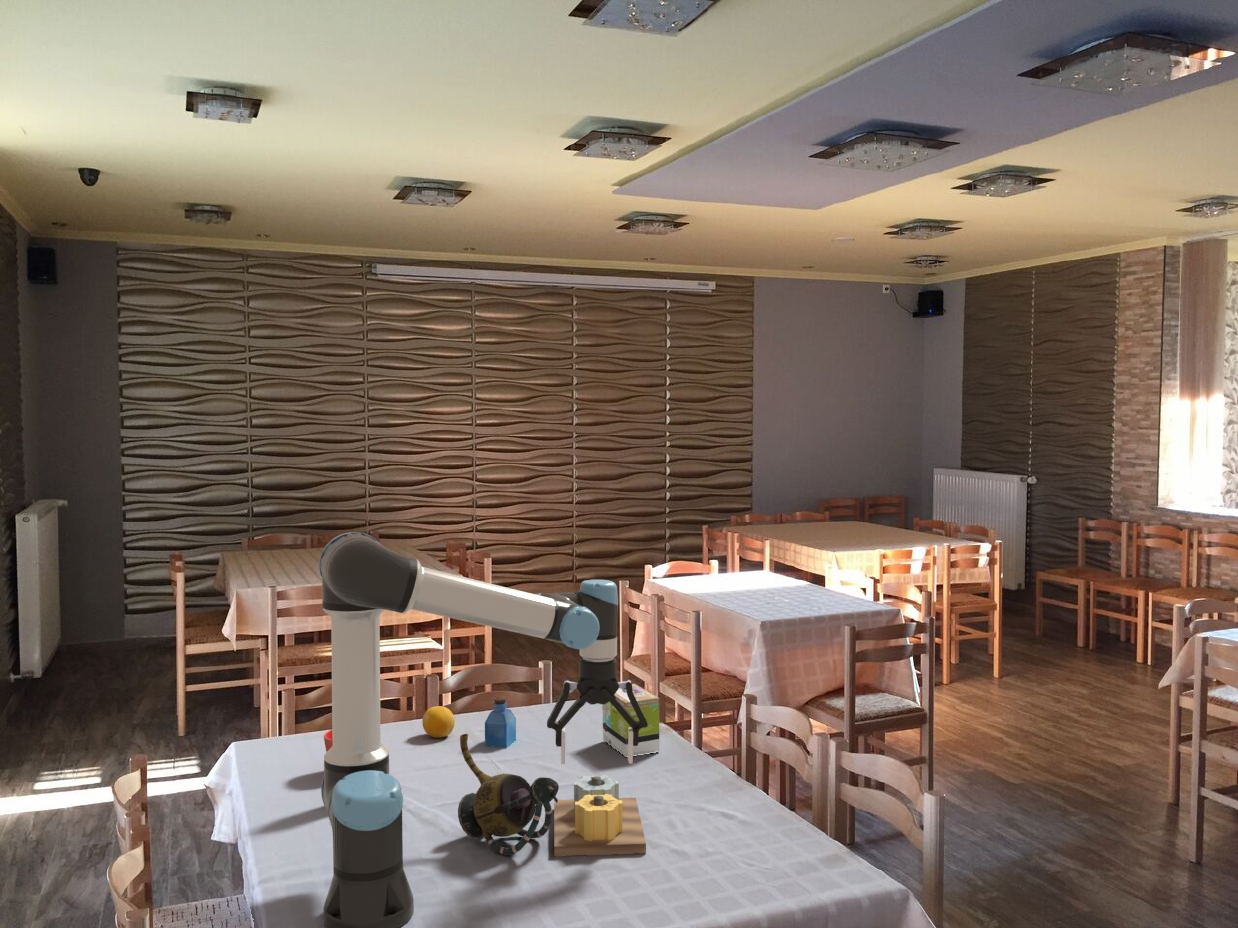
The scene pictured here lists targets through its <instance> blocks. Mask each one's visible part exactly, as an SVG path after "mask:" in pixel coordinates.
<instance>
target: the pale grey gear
mask: <svg viewBox="0 0 1238 928" xmlns="http://www.w3.org/2000/svg"><path fill="white" fill-rule="evenodd" d="M595 776H596V775H591V776H589V775H583V776H581V777H580V779H578V781H574V782H573V799H574V812H575V802H579V800H581V799H582V798H583V796H585V795H589V794H590V795H605V794H609V795H613V797H614V798H616V799H617V800H619V798H620V795H619V794H620V793H619V791H620V790H619V789H620V787H619V786H620V783H619V780H615V779H613V778H611V777H610V775H605V774H603V775H597V776H598V777H601V786H592V777H595Z"/></svg>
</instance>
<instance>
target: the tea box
mask: <svg viewBox="0 0 1238 928" xmlns="http://www.w3.org/2000/svg"><path fill="white" fill-rule="evenodd" d="M632 690H633V693H634V696H635V698H636V700H637V702H638V704H639V706H640V708H641V710H642V712H643V714H644V716H645V718H646V720H647V723H648V726H647V727H646V728H641V729H640V730H639V740H638V746H633V755H638V754H645V753H650V752H655V751H659V752H660V742H661V741H660V697H658V696H657V695H654V694H653V693H652V692H649V691H648V690H646V689H644V688H643V687H641V686H639V685H637V684H636V683H632ZM614 695H615V696H616V698H617V699H618V700H619V702H620V703H621V704H622V705H623V706H624V707H625V709H626V710H627V711H628V712H629V713H630V715H631V716H632V717H633V718H634V719H635V721H636V722H637V721H639V719H638V717H637V714H636V712H635V710H634V708H633V706H632V704H631V702H630V700H629V698H628V696H627V693H624V692H623V691H622V689H621V688H619V689H618V690H617V692H616V693H615V694H614ZM601 707H602V741H603V742H604V743H606V742H607V743H608V745H609V746H610V745H611V746H612V748H613V749H614V750H615V749H616V750H617V751H616V750H615V751H616V752H618V751H619V752H620V753H621V754H620V753H619V752H618V753H619V754H620V755H622V754H623V755H624V756H625V757H627V756H628V728H632V727H631V726H630V725H629V724H628V723H627V721H626V720H625V719H624V718H623V717H622V716H621V714H620V713H619V712H618V711H617V710H616V708H615V707H614V706H613V705H612V704H611V703H610V702H608V703H606V704H602V706H601ZM607 743H606V744H607ZM611 746H610V747H611ZM623 755H622V756H623ZM624 756H623V757H624ZM625 757H624V758H625Z"/></svg>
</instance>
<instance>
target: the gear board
mask: <svg viewBox="0 0 1238 928" xmlns="http://www.w3.org/2000/svg"><path fill="white" fill-rule="evenodd" d="M594 776H595V777H592V786H601V777H598V776H599V775H594ZM619 800H622V832H621V833H618V834H617V835H616V836H615V839H612V840H609V841H608V840H607V839H606V840H592V841H588V840H584V837H582V836H581V835H579V834H575V812H574V798H573V799H558V802H557V803H556V801H555V800H554V799H553V809H554V810H553V811H554V813H553V825H554V826H553V827H554V828H553V831H554V834H553V836H554V837H553V839H554V841H553V842H554V843H553V844H554V845H553V847H554V853H553V854H554V855H553V856H557V857H568V856H567V855H587V856H610V855H611V856H612V854H618V855H634V854H633V853H646V854H647V842H646V837H645V833H644V827H643V824H642V820H641V815H640V811H639V806H638V802H637V797H619ZM603 805H604V797H603V796H595V797H594V806H603ZM627 853H629V854H627Z"/></svg>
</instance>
